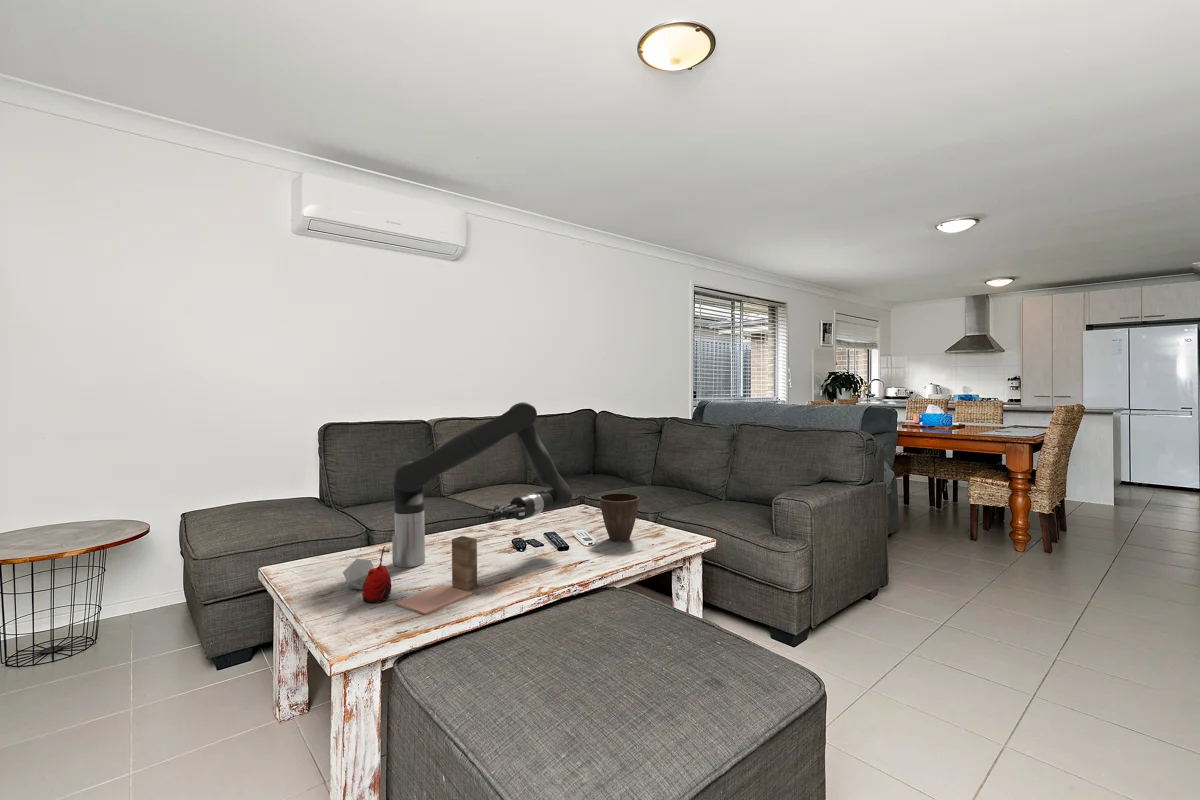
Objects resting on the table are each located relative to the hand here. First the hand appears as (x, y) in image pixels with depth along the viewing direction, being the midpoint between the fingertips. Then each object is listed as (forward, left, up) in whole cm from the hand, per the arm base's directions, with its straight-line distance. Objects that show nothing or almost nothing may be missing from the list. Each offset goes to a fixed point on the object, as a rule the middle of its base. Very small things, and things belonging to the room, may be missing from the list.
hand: (489, 517), depth 167 cm
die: (-34, -13, -18) cm, 41 cm away
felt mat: (-9, -19, -18) cm, 28 cm away
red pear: (-24, -21, -18) cm, 37 cm away
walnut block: (-4, -9, -18) cm, 21 cm away
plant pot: (+35, +46, -18) cm, 60 cm away
